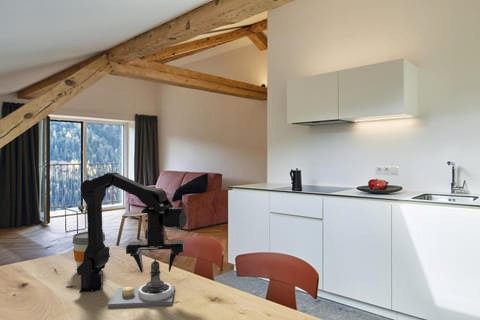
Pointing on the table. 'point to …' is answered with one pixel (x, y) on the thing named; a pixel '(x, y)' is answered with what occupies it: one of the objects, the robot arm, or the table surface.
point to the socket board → (137, 300)
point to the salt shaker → (155, 279)
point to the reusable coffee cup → (81, 246)
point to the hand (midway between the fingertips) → (155, 271)
